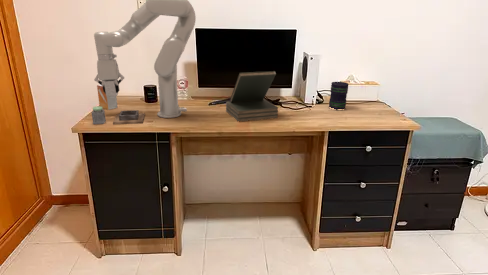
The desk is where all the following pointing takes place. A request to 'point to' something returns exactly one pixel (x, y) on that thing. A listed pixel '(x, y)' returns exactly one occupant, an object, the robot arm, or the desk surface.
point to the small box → (106, 99)
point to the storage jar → (338, 95)
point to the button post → (98, 117)
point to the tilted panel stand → (252, 97)
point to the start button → (97, 108)
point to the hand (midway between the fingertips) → (111, 92)
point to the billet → (110, 88)
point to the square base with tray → (129, 117)
